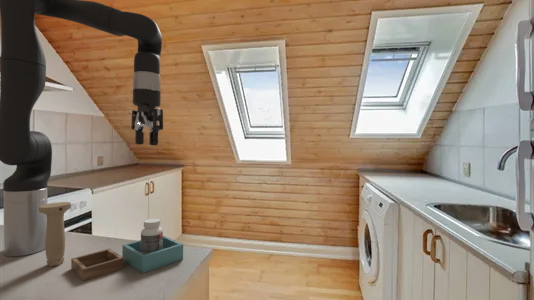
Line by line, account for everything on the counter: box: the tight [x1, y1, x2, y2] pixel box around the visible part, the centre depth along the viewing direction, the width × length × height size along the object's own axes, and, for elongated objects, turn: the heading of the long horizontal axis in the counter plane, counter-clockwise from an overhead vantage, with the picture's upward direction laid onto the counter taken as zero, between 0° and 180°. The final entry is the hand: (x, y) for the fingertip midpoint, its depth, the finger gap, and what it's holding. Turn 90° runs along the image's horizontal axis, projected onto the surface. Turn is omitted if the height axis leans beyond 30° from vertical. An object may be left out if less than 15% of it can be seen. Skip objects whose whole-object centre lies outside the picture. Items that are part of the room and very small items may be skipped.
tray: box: [121, 235, 184, 274], centre depth 74 cm, size 11×11×4 cm
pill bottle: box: [140, 218, 164, 255], centre depth 74 cm, size 5×5×10 cm
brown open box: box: [70, 248, 125, 282], centre depth 68 cm, size 9×9×2 cm
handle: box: [39, 201, 72, 267], centre depth 70 cm, size 5×6×15 cm
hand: (146, 144), depth 82 cm, fingers open, 8 cm apart
